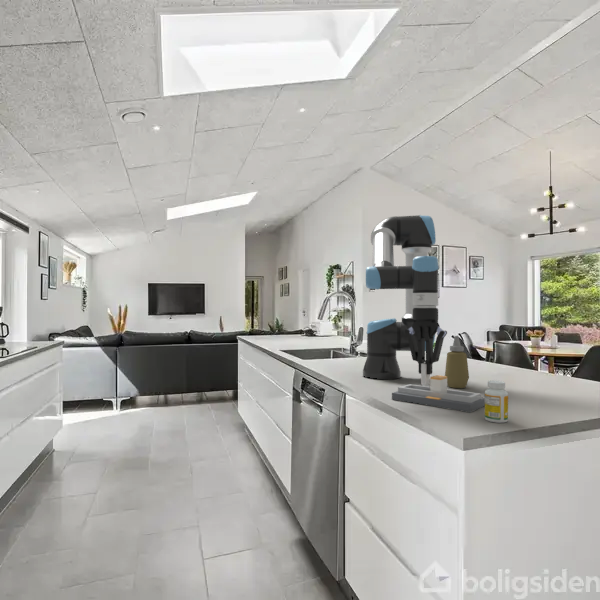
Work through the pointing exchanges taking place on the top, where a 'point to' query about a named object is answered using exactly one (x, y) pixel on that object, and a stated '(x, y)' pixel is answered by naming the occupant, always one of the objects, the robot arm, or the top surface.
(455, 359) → the squeeze bottle
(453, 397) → the console board
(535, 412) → the top surface
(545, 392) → the top surface
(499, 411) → the supplement bottle
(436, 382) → the fader tab
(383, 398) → the top surface
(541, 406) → the top surface
